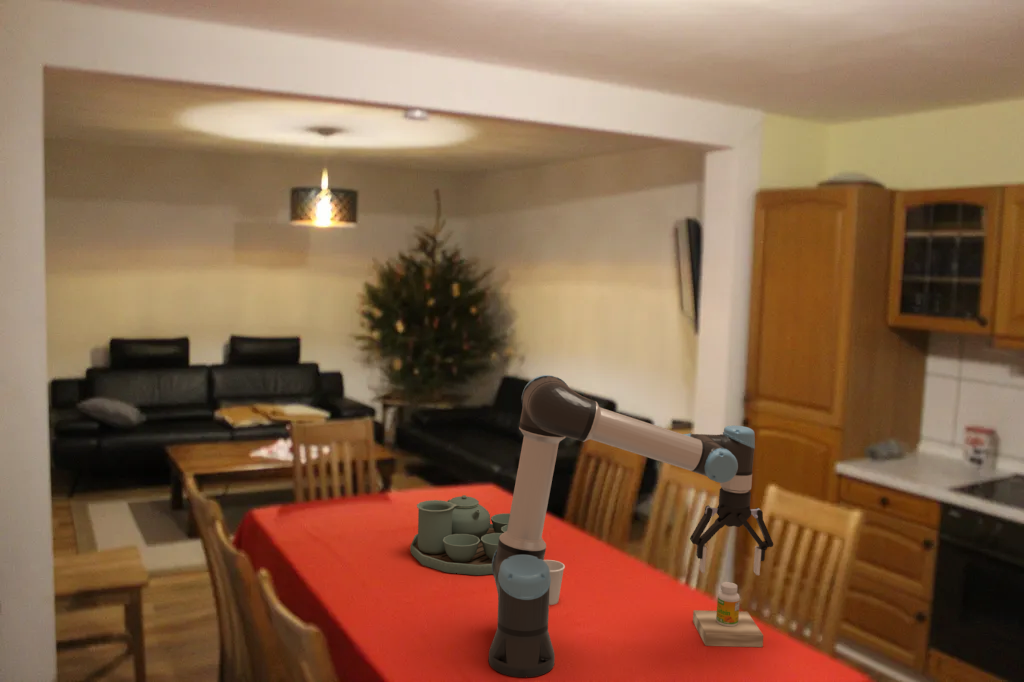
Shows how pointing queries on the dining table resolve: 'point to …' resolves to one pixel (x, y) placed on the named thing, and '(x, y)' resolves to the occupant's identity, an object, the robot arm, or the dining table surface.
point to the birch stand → (727, 630)
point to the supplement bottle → (728, 605)
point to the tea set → (457, 536)
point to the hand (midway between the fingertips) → (729, 572)
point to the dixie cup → (555, 580)
